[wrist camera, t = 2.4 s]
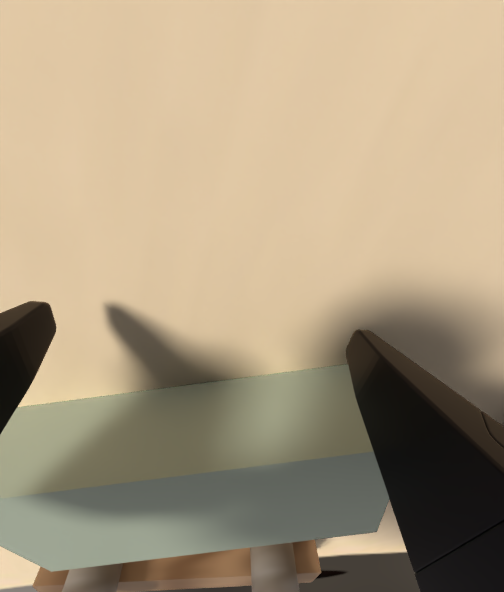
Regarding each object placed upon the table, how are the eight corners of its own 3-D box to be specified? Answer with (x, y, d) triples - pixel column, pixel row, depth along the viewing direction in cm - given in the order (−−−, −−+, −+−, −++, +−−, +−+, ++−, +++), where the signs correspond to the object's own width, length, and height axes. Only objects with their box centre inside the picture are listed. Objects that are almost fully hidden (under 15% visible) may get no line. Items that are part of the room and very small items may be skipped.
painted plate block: (361, 355, 12) (410, 446, 9) (347, 448, 17) (376, 532, 13) (5, 401, 12) (-76, 508, 9) (86, 481, 17) (51, 571, 14)
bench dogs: (323, 516, 22) (351, 639, 17) (304, 542, 25) (323, 651, 20) (42, 522, 19) (-26, 670, 14) (60, 550, 22) (11, 679, 17)
